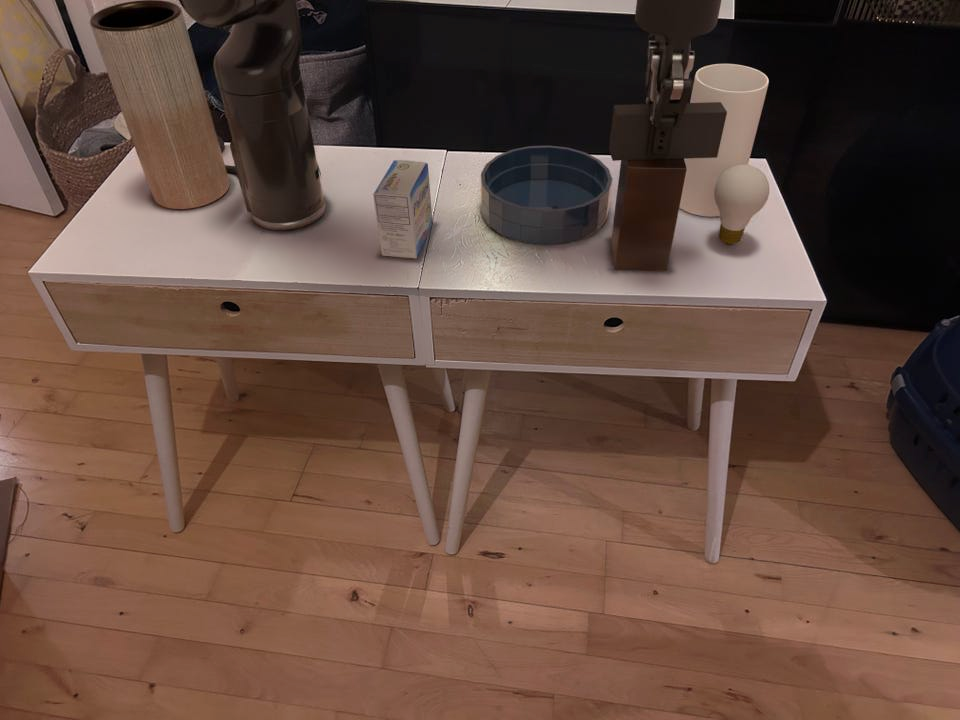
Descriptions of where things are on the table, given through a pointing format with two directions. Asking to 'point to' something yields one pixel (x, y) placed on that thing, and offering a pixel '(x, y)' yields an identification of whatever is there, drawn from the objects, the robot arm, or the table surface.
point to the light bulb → (739, 200)
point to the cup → (724, 130)
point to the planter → (162, 101)
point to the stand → (646, 213)
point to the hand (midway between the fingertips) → (655, 148)
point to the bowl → (545, 194)
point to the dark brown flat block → (687, 141)
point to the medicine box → (403, 208)
